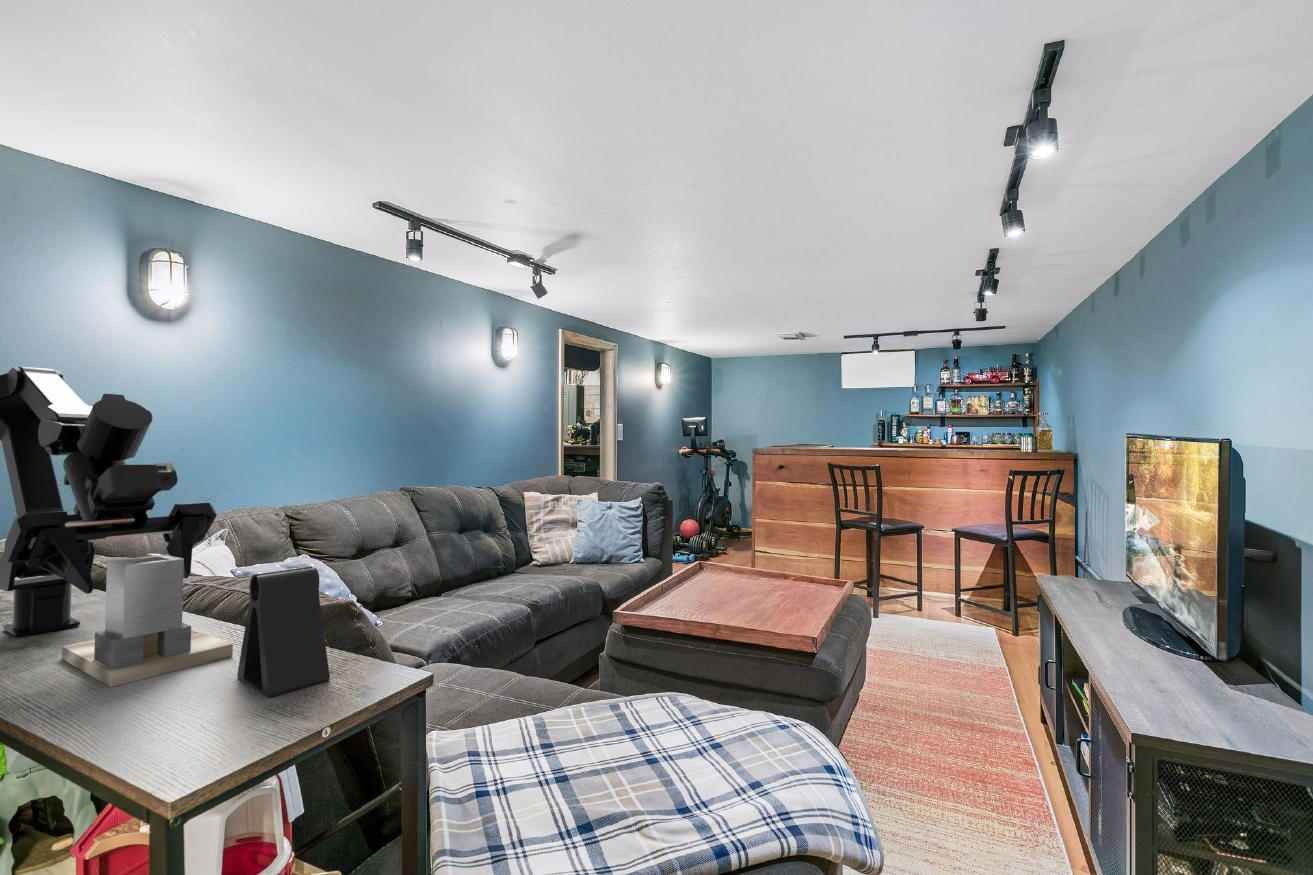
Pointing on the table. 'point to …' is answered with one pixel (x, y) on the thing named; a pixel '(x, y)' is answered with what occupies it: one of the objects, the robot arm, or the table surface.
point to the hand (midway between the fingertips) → (141, 583)
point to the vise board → (151, 663)
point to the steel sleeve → (144, 595)
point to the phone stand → (284, 633)
